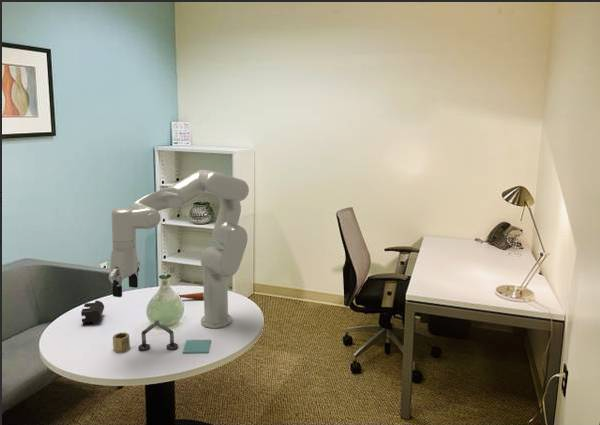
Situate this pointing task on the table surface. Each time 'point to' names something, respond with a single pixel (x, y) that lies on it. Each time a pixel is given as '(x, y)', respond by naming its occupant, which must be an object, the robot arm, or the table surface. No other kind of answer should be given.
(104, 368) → the table surface
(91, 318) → the dark brown lumpy block
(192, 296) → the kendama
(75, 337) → the table surface
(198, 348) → the mat
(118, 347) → the bronze ring
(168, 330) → the pipe arch
